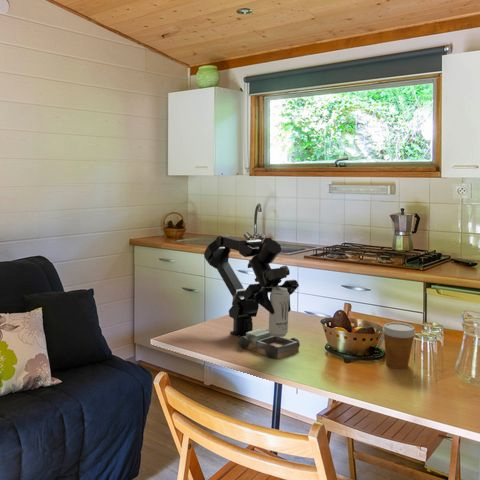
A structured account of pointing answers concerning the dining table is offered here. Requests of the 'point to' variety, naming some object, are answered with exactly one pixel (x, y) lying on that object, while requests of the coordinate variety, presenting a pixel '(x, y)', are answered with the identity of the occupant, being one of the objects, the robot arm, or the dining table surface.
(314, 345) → the dining table surface
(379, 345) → the frog figurine
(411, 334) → the disposable coffee cup
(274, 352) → the chassis
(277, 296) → the energy drink can
